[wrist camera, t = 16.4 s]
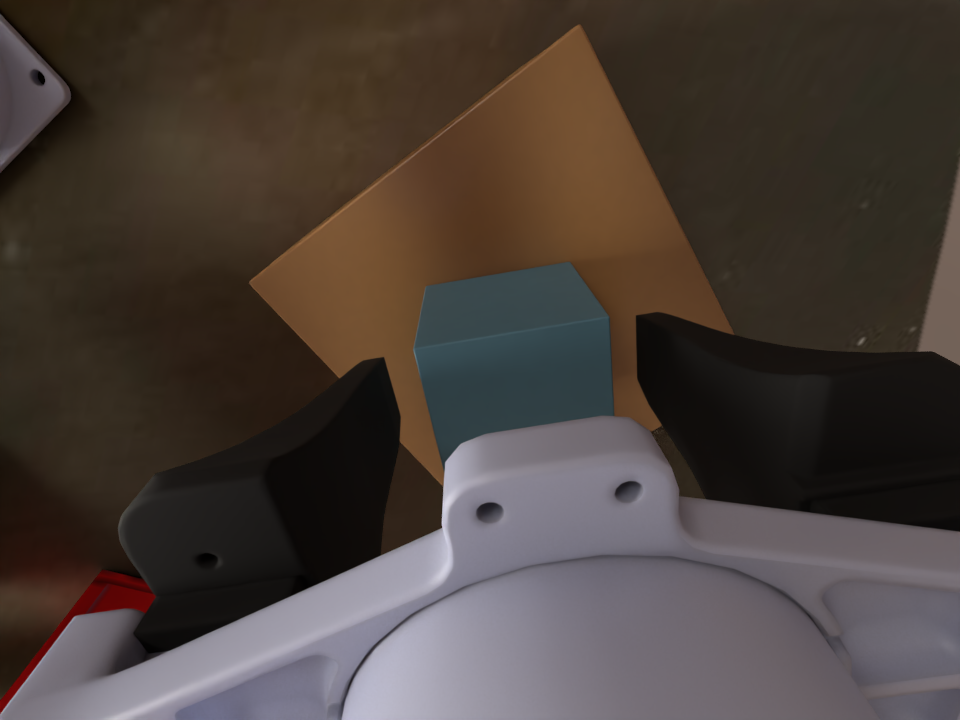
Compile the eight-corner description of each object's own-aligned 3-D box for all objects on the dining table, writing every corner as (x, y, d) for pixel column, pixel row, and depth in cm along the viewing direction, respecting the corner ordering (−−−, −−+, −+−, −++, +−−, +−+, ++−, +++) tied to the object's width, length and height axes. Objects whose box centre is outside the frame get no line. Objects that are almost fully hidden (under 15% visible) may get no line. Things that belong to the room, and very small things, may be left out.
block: (425, 285, 15) (412, 348, 11) (570, 261, 15) (610, 316, 11) (452, 407, 17) (450, 498, 13) (580, 387, 17) (617, 472, 13)
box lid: (574, 26, 13) (581, 22, 12) (745, 366, 17) (755, 376, 17) (255, 276, 15) (247, 283, 15) (478, 512, 20) (479, 525, 19)
